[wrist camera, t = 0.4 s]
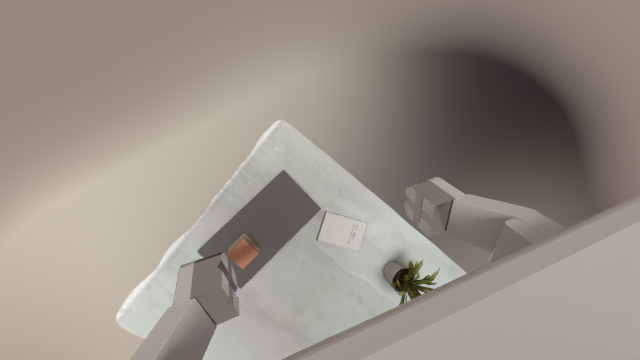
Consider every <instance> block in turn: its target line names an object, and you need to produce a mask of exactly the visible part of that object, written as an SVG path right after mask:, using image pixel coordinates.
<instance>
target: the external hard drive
mask: <svg viewBox="0 0 640 360" xmlns="http://www.w3.org/2000/svg"><path fill="white" fill-rule="evenodd" d="M366 227H367V223H365V222H362V221H359V220H355V219H352V218H349V217H345V216H342V215H339V214H335V213H332V212H328V211H326V212H325V215H324V218H323V221H322V224H321V227H320V230H319V233H318V236H317V239H316V240H317V241H320V242H324V243H328V244H331V245H335V246H339V247H343V248H347V249H351V250H355V251H359V249H360V246H361V243H362V240H363V236H364V233H365V230H366Z"/></svg>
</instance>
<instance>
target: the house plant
mask: <svg viewBox="0 0 640 360" xmlns="http://www.w3.org/2000/svg"><path fill="white" fill-rule="evenodd" d="M422 262H423V260H422V261H421V262H420V263H419V264H418V263H416V264H415V266H413V263H412V262H411V260H410V262H409V268H407V267H405V266H403V265H400V264H398V263H395V262H389V263H388V264H386V266H385V267H384V270H383V273H384V276H385V277H386V279H387V280H388V282H389V283H390V285H391V287H393V289H394V290H395V291H396V292H398V293H399V295H401V296H402V299H401V302H400V304H399V305H401V304H403V303H404V299H405V294H406V292H407V293H408V295H409V297H410V299H411V300H412V299H414V298H416V297H418V296H420V295H421V294H420V293H419V292H418V291H417V290H419V291H422V292H425V293H427V291H431V290H433V289H432V288H427V287H422V286H418V285H421V284H427V285H434V284H437V283H431V281H433V280H434V279H435V277H436V275H437V274H438V272H439V270H438V271H437V272H436V273H434V274H433V275H432V276H431V277H430V275H428V276H426V277H425V278H423V279H422V280H417V279H418V278H419V275H420V274H419V272H418V270H419V269H420V268H421V266H422V264H423V263H422ZM413 267H414V268H413ZM417 272H418V274H417ZM416 274H417V277H416V278H415V275H416ZM424 290H427V291H424ZM404 293H405V294H404ZM406 299H407V296H406Z"/></svg>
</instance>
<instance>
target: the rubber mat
mask: <svg viewBox="0 0 640 360" xmlns="http://www.w3.org/2000/svg"><path fill="white" fill-rule="evenodd" d="M320 209H321V208H320V207H319V206H318V205H317V204H316V203H315V202H314V201H313V200H312V199H311V198H310V197H309V196H308V195H307V194H306V193H305V192H304V191H303V190H302V189H301V187H300V186H299V185H298V184H297V183H296V182H295V181H294V180H293V179H292V178H291V177H290V176H289V175H288V174H287V173H286V172H285V171H284V170H283V171H282V172H281V173H280V174H279V175H278V176H277V177H276V178H275V179H274V180H272V181H271V182H270V183H269V184H268V185H267V186H266V187H265V188H264V189H263V190H262V191H261V192H260V193H259V194H258V195H257V196H255V197H254V198H253V199H252V200H251V201H250V202H249V203H248V204H247V205H246V206H245V207H244V208H243V209H242V210H241V211H240V212H239V213H237V214H236V215H235V216H234V217H233V218H232V219H231V220H230V221H229V222H228V223H227V224H226V225H225V226H224V227H223V228H222V229H220V230H219V231H218V232H217V233H216V234H215V235H214V236H213V237H212V238H211V239H210V240H209V241H208V242H207V243H206V244H205V245H203V246H202V247H201V248H200V249H199V250H198V251H197V252H198V253H199V254H200V255H202V256H203V257H204V258H205V257H208V256H212V255H215V254H218V253H221V252H224V253H225V255H226V256H227V252H228V249H229V247H230V246H231V245H232V244H233V243H234V242H235V241H236V240H237V239H238V238H239V237H240V236H241V235H242V234H243V233H246V234H247V235H248V236H249V237H250V238H251V239H252V240H253V241H254V242H255V243H256V244H258V245H259V254H258V255H257V256H256V257H255V258H254V259H253V260H252V261H251V262H250V263H249V264H248V265H247V266H246V267H245V268H244V269H242V268H241V267H240V266H238V265H237V264H236V263H235V262H234V261H233V260H232V259H230V258H229V257H228V256H227V261H228V264H229V265H231V266H232V268H233V270H234V272H235V275H236V280H237V286H238V287H239V288H242V287H243V286H244V285H245V284H246V283H247V282H248V281H249V280H250V279H251V278H252V277H253V276H254V275H255V274H256V273H257V272H258V271H259V270H260V269H261V268H262V267H263V266H264V265H265V264H266V263H267V262H268V261H269V260H270V259H271V258H272V257H273V256H274V255H275V254H276V253H277V252H278V251H279V250H280V249H281V248H282V247H283V246H284V245H285V244H286V243H287V242H288V241H289V240H290V239H291V238H292V237H293V236H294V235H295V234H296V233H297V232H298V231H299V230H300V229H301V228H302V227H303V226H304V225H305V224H306V223H307V222H308V221H309V220H310V219H311V218H312V217H313V216H314V215H315V214H316V213H317V212H318V211H319V210H320Z"/></svg>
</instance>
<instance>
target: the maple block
mask: <svg viewBox="0 0 640 360" xmlns="http://www.w3.org/2000/svg"><path fill="white" fill-rule="evenodd" d="M258 254H259V245H258V244H256V243H255V242H254V241H253V240H252V239H251V238H250V237H249V236H248V235H247V234H246V233H243V234H242V235H241V236H240V237H239V238H238V239H237V240H236V241H235V242H234V243H233V244H232V245H231V246H230V247H229V249H228V252H227V256H228V257H229V258H230V259H232V260H233V261H234V262H235V263H236V264H237V265H238V266H240V267H241V268H242V269H244V268H245V267H246V266H247V265H248V264H249V263H250V262H251V261H252V260H253V259H254V258H255V257H256V256H257V255H258Z"/></svg>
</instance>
